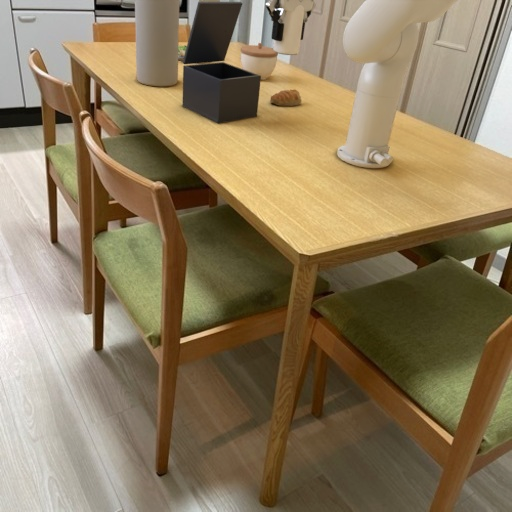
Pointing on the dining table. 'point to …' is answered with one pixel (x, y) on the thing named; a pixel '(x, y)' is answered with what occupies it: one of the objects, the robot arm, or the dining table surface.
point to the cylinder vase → (157, 41)
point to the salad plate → (181, 52)
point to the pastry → (286, 98)
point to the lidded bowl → (258, 60)
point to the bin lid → (211, 31)
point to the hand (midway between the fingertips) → (287, 38)
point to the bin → (220, 91)
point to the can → (290, 32)
